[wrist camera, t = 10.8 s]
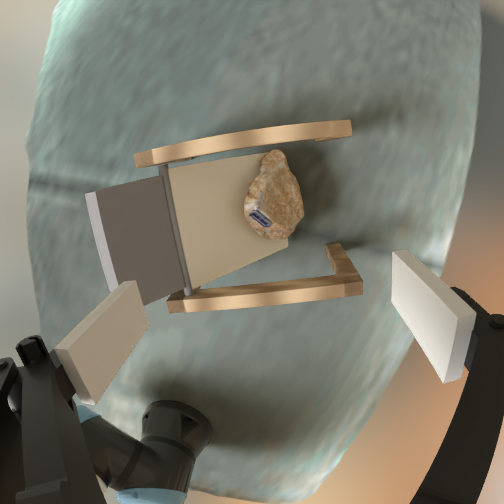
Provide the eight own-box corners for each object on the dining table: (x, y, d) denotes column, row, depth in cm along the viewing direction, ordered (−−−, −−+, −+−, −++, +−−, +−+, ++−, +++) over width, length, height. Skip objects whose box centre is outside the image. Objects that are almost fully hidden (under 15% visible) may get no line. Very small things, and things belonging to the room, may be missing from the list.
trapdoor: (115, 307, 32) (130, 322, 29) (83, 184, 28) (93, 180, 25) (263, 245, 47) (289, 249, 43) (249, 151, 43) (276, 147, 39)
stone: (225, 207, 35) (252, 208, 32) (268, 145, 38) (296, 141, 35) (264, 250, 40) (292, 254, 37) (300, 189, 43) (326, 189, 40)
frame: (198, 268, 47) (169, 313, 34) (177, 152, 42) (133, 153, 28) (339, 252, 44) (363, 294, 31) (327, 129, 39) (350, 119, 26)
